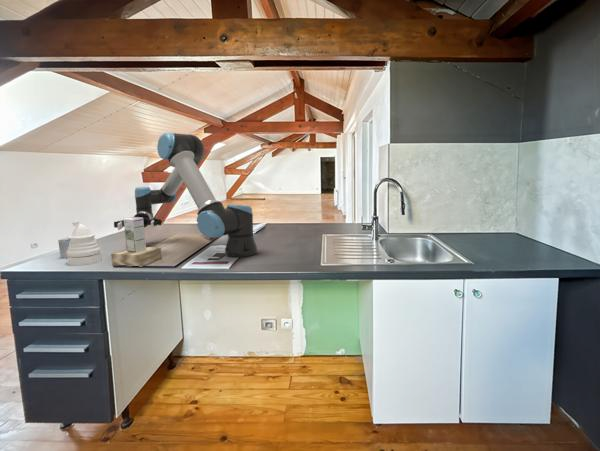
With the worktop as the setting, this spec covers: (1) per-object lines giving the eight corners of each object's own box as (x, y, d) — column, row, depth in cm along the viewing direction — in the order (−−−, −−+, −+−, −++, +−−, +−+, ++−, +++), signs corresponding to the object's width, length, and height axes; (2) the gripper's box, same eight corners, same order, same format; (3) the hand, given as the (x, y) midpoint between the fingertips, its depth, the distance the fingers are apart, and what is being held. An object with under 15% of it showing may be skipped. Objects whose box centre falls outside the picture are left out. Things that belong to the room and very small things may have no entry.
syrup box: (146, 249, 157) (143, 217, 154) (135, 252, 152) (132, 218, 149) (137, 248, 159) (134, 216, 157) (126, 251, 154) (122, 218, 152)
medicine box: (68, 258, 164) (66, 239, 163) (60, 258, 165) (57, 239, 164) (81, 254, 172) (79, 236, 170) (73, 253, 173) (71, 236, 171)
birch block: (161, 258, 161) (160, 247, 160) (140, 267, 148) (139, 255, 147) (135, 257, 164) (134, 246, 164) (112, 265, 151) (111, 253, 150)
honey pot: (66, 267, 150) (61, 224, 147) (69, 260, 161) (64, 220, 158) (101, 262, 155) (96, 222, 152) (102, 256, 167) (97, 218, 164)
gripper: (169, 225, 182) (166, 232, 162) (115, 228, 175) (105, 236, 155) (168, 210, 181) (164, 216, 161) (113, 213, 174) (103, 219, 154)
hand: (135, 226), depth 158 cm, fingers open, 13 cm apart
